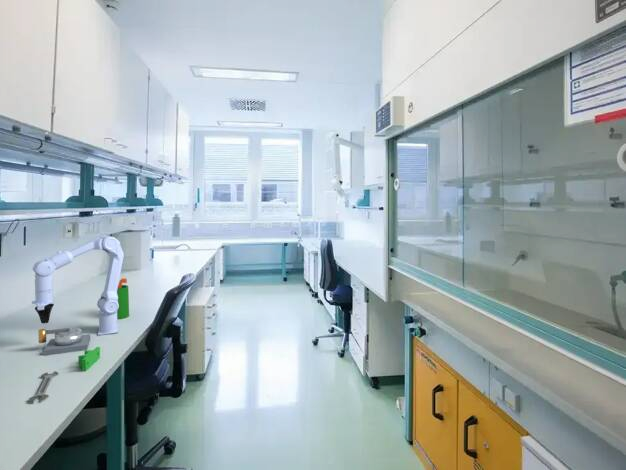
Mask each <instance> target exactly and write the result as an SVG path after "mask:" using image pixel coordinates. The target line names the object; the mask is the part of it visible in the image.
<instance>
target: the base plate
mask: <svg viewBox="0 0 626 470" xmlns="http://www.w3.org/2000/svg"><path fill="white" fill-rule="evenodd" d="M90 342H91V334H88V333H87V334H82V340H81V341H80V342H78V343H75V344H71V345H65V346H58V345H55V338H50V340H48V342H47V344H46V346H45V348H44V350H43V356H44V357H45V356H51V355H59V354H65V353H73V352H80V351H85V350H88V349H89V345H90Z"/></svg>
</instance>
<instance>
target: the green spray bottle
mask: <svg viewBox="0 0 626 470" xmlns="http://www.w3.org/2000/svg"><path fill="white" fill-rule="evenodd" d="M127 283H128V278H124V277H123V278H121V279H119V283H118V288H117V295H118V304H119V308H118V310H117V320H123V319H125V318H128V317H129V316H130V301H129V299H130V297H129V285H125V284H127Z"/></svg>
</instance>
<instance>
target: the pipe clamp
mask: <svg viewBox="0 0 626 470" xmlns="http://www.w3.org/2000/svg"><path fill="white" fill-rule="evenodd" d="M83 351H84V352H83V353H84V354H82V355H78V359H77V360H78V368H79V369H81V370H82V372H87V371H88V370H89V369H90V368H91V367H92V366H94V364H96V362H98V360H99V359H101V346H96V347H95V348H94V349H89V350H88V349H87V350H83Z"/></svg>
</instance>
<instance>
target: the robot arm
mask: <svg viewBox="0 0 626 470" xmlns="http://www.w3.org/2000/svg"><path fill="white" fill-rule="evenodd" d="M92 250H95V251H96V250H99V251H100V250H101V251H104V252H105V253H106V254H107V255H108V256H109V257H110V259H109V264H108V267H107V268H108V269H107V273H106V279H105V284H104V287H103V289H104V290H103V291H102V293H101V294H100V298H98V300H97V303H96V305H97V307H98V308H99V311H98V324H99V325H98V326H99V328H98V333H97V335H98V336H100V335H101V336H102V335H109V334H116V333H117V334H118V333H119V327H120V326H119V325H118V319H117V310H118V308H119V304H118V295H117V288H118V285H119V281H120V278H121V274H122V273H121V272H122V266H123V262H124V261H123V260H124V256H125V252H124V251H123V248H122V246H121V242H120V241H119V240H118V239H117V238H116V237H114V236H109V235H101V236H99V237H94V238H92V239H90V240H89V241H87V242H85V243H83V244H81V245H79V246H77V247H75V248H72V249H71V250H69V251H68V250H59V251H57V252H56V253H55V254H53V255H51V256H49V257H48V256H46V257H44V259H43V260H42V259H41V260H38V261H36V262H35V263H34V264H33V267H32V271H33V272H34V278H35V279H34V296H35V300H33V301H31V304H32V305H36V306H35V307H34V310H35V311H36V313H37V314H38V316H39V317H38V318H39V321H40V323H41V324H49V322H50V316H51V313H52V310H53V307H54V304H55V303H54V302H55V301H54V289H53V288H54V284H53V273H54V271H56V270H58V269H61V268H62V267H64V266H66V265H68V264H71V263H73V260H74V258H76V257H79V256H81V255H84V254H85V253H88V252H90V251H92Z"/></svg>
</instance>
